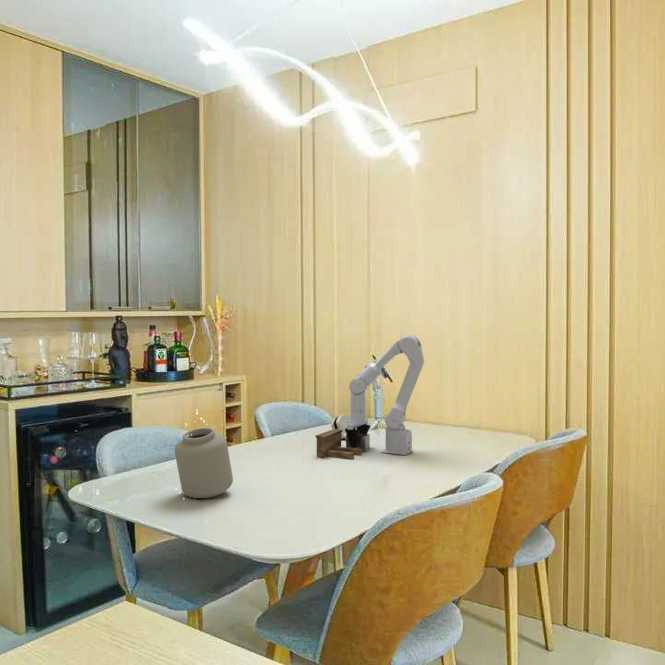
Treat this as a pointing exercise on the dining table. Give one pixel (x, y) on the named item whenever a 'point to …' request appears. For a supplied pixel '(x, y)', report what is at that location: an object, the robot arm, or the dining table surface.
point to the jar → (203, 463)
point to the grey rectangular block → (361, 442)
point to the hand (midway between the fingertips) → (357, 445)
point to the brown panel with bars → (334, 446)
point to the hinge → (340, 424)
